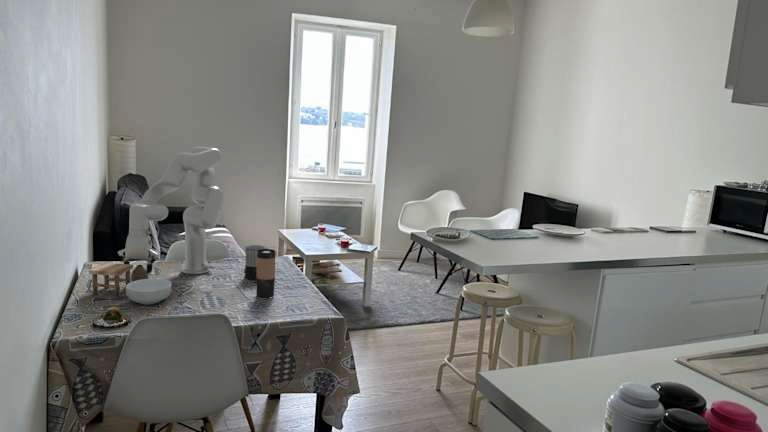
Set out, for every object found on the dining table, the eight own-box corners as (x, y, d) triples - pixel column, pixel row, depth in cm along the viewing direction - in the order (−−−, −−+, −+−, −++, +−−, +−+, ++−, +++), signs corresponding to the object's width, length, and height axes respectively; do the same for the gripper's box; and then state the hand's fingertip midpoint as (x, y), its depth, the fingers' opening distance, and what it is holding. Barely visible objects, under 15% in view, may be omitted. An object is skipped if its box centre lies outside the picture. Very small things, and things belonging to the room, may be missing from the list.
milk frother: (254, 281, 250) (254, 250, 248) (230, 274, 258) (230, 244, 256) (275, 275, 262) (276, 245, 260) (252, 269, 270) (252, 240, 268)
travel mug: (277, 295, 232) (279, 250, 229) (268, 300, 225) (269, 254, 222) (262, 292, 234) (263, 248, 231) (252, 297, 227) (253, 251, 224)
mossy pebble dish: (85, 328, 186) (84, 307, 184) (108, 316, 197) (107, 297, 196) (116, 332, 184) (116, 311, 182) (137, 320, 195) (137, 300, 194)
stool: (133, 288, 229) (133, 264, 227) (119, 297, 217) (118, 272, 215) (105, 286, 229) (104, 262, 227) (89, 295, 217) (88, 270, 215)
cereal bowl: (126, 296, 219) (126, 279, 218) (170, 293, 226) (170, 277, 225) (125, 309, 204) (125, 292, 203) (172, 306, 211) (172, 289, 210)
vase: (151, 283, 238) (151, 263, 236) (143, 287, 231) (142, 267, 230) (136, 281, 238) (136, 262, 237) (127, 286, 232) (127, 266, 230)
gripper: (162, 233, 234) (161, 271, 237) (122, 229, 234) (122, 268, 237) (155, 236, 227) (154, 275, 229) (114, 232, 227) (113, 272, 229)
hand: (138, 271), depth 233 cm, fingers open, 9 cm apart
